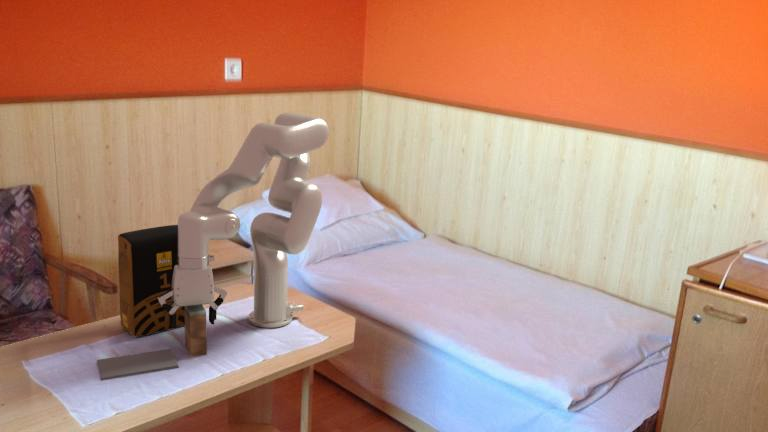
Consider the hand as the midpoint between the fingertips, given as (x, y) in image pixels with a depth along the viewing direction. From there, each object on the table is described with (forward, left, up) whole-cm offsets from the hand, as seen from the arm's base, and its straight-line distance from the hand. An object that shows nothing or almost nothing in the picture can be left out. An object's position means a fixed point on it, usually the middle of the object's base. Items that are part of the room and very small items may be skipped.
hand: (192, 324), depth 187 cm
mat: (+14, +3, -7) cm, 16 cm away
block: (-1, 0, -7) cm, 7 cm away
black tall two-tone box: (+5, -19, -8) cm, 21 cm away
